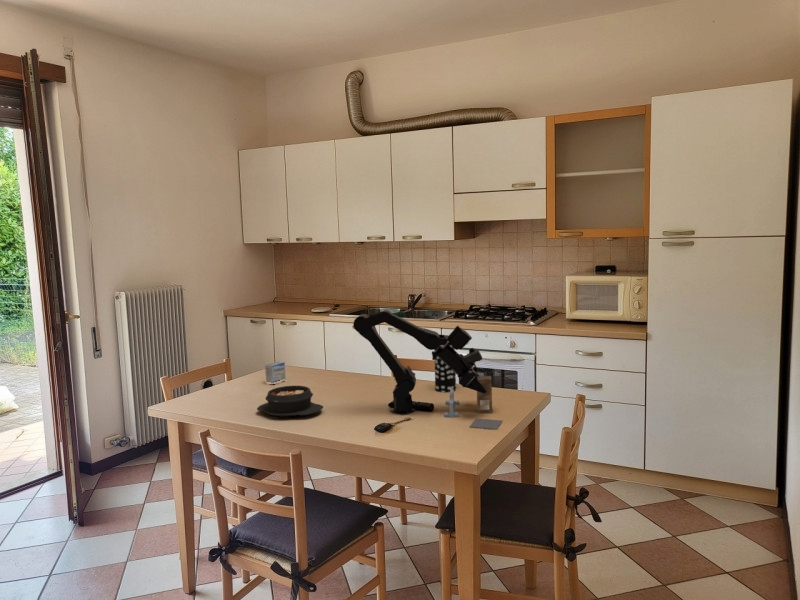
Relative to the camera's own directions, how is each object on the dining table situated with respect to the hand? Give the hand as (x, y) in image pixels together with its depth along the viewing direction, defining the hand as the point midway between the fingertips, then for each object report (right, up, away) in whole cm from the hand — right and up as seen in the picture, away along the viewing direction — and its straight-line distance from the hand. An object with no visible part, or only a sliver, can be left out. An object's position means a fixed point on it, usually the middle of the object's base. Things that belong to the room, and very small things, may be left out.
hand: (485, 389), depth 210 cm
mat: (-2, -9, -14) cm, 17 cm away
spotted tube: (-11, -5, +32) cm, 34 cm away
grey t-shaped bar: (-11, -8, +4) cm, 14 cm away
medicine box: (-85, -6, +54) cm, 101 cm away
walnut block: (0, -8, +1) cm, 8 cm away
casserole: (-70, -10, +8) cm, 71 cm away
